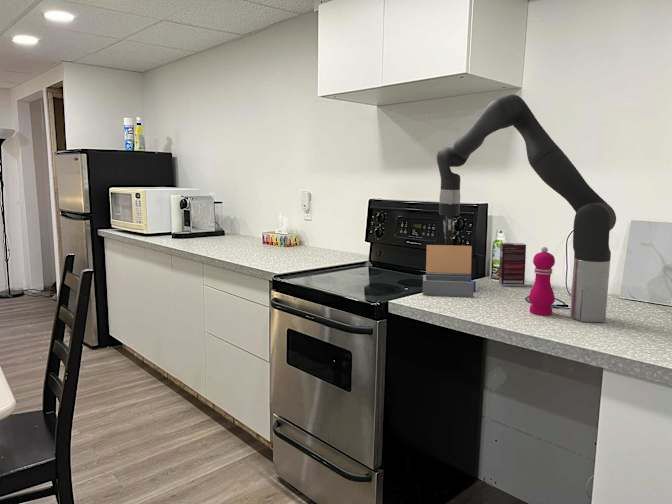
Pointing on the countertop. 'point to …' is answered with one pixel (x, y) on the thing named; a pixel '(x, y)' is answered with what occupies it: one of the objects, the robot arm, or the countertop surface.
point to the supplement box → (512, 264)
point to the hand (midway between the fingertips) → (447, 248)
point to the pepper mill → (542, 284)
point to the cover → (448, 260)
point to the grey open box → (448, 285)
